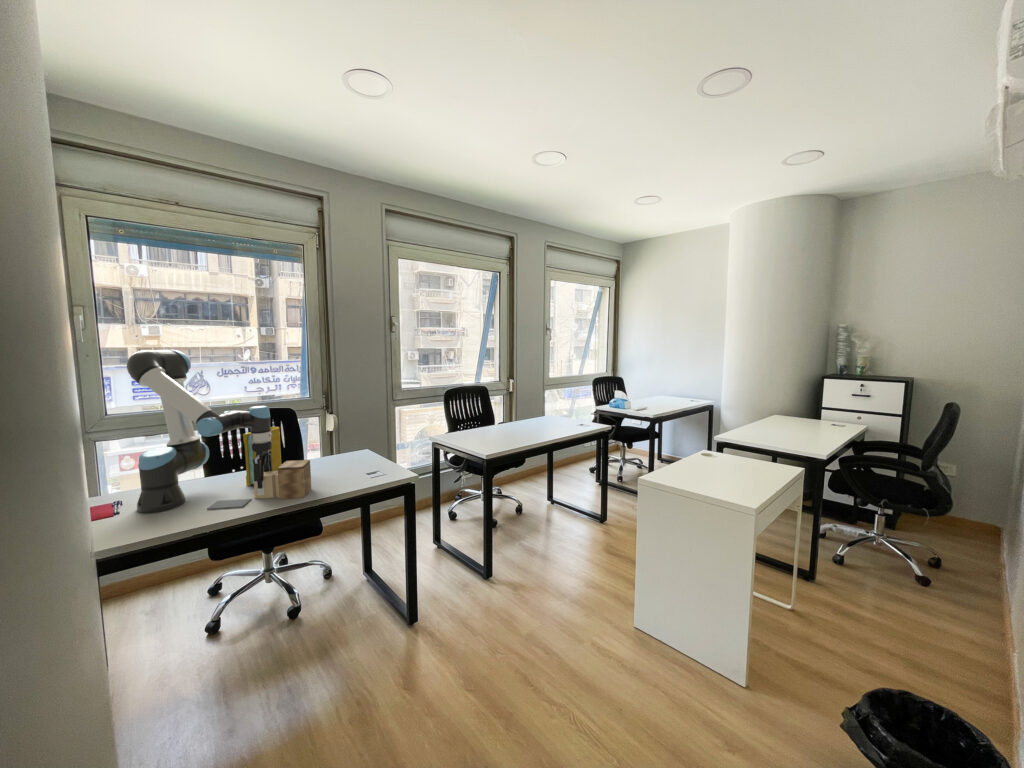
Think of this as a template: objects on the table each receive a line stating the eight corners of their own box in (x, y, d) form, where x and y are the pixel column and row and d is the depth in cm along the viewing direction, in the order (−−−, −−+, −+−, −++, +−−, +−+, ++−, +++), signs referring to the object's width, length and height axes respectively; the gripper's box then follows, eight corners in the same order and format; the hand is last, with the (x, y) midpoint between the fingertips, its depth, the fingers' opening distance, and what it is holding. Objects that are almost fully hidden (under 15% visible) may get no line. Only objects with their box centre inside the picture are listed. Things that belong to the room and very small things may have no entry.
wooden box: (279, 499, 175) (277, 467, 173) (288, 490, 185) (286, 460, 184) (304, 497, 177) (302, 466, 175) (311, 488, 187) (310, 459, 185)
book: (258, 486, 189) (255, 434, 186) (246, 485, 190) (243, 434, 187) (285, 475, 205) (282, 427, 203) (274, 474, 207) (271, 426, 204)
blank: (254, 498, 175) (253, 476, 174) (260, 493, 181) (259, 471, 180) (284, 496, 177) (283, 474, 176) (289, 491, 183) (288, 470, 182)
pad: (207, 509, 163) (207, 508, 163) (217, 501, 171) (217, 500, 171) (242, 507, 166) (242, 506, 166) (251, 500, 174) (251, 498, 173)
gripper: (261, 446, 167) (265, 499, 170) (279, 435, 186) (281, 483, 188) (241, 447, 166) (245, 501, 168) (261, 436, 184) (264, 484, 187)
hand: (264, 491), depth 178 cm, fingers closed on blank, 6 cm apart
